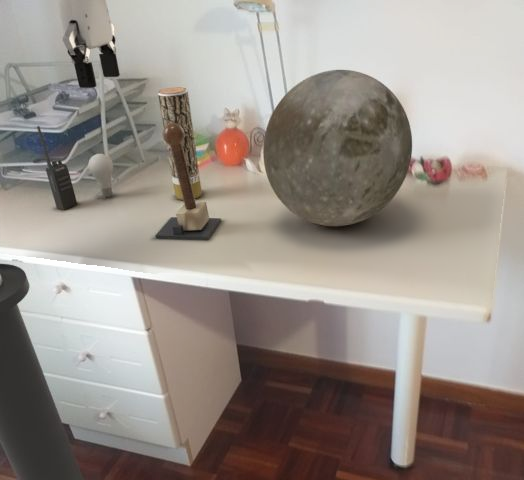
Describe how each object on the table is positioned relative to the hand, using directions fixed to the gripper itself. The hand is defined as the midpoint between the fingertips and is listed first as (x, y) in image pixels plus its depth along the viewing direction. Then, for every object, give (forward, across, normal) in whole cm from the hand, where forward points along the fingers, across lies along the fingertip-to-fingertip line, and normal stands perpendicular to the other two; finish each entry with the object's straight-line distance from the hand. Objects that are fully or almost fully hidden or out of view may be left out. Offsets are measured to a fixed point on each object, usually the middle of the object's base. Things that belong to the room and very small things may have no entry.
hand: (100, 81), depth 106 cm
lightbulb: (+32, -25, -18) cm, 45 cm away
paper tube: (+32, -26, +4) cm, 41 cm away
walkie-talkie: (+32, -18, -26) cm, 45 cm away
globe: (+32, -13, +43) cm, 55 cm away
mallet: (+20, -6, +9) cm, 23 cm away
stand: (+32, -6, +10) cm, 34 cm away
